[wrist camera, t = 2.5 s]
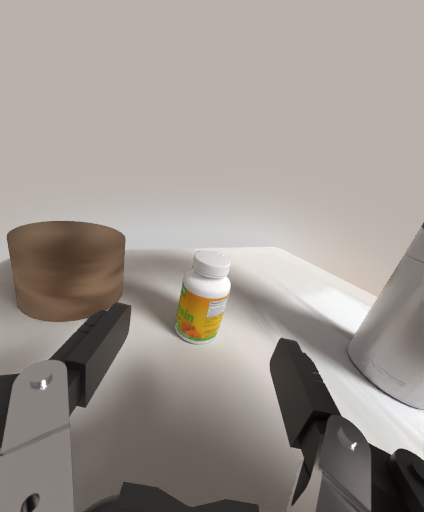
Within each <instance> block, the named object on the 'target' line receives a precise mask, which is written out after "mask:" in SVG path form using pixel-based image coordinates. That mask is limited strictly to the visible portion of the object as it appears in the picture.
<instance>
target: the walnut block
mask: <svg viewBox="0 0 424 512" xmlns="http://www.w3.org/2000/svg"><path fill="white" fill-rule="evenodd" d="M7 241H8V248H9V253H10V260H11V266H12V272H13V278H14V284H15V290H16V296H17V302H18V307H19V309H20V310H21V311H22V312H23V313H24V314H26V315H27V316H29V317H32V318H34V319H38V320H42V321H51V322H65V321H74V320H80V319H84V318H88V317H90V316H91V315H93V314H95V313H97V312H99V311H101V310H104V311H106V310H108V309H109V308H111V306H112V305H113V304H114V303H115V302H118V300H119V299H120V297H121V295H122V287H123V270H124V254H125V236H124V235H123V234H122V233H121V232H119V231H117V230H115V229H113V228H110V227H107V226H103V225H98V224H93V223H86V222H75V221H74V222H73V221H50V222H39V223H32V224H27V225H23V226H20V227H17V228H15V229H13V230H11V231H10V232H9V233H8V234H7Z"/></svg>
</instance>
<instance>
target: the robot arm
mask: <svg viewBox="0 0 424 512" xmlns="http://www.w3.org/2000/svg"><path fill="white" fill-rule="evenodd" d="M421 227H422V228H423V229H422V228H421V229H420V230H419V231H418V233H417V235H416V236H415V238H414V240H413V241H412V243H411V244H410V246H409V248H408V249H407V251H406V253H405V254H404V256H403V258H402V259H401V261H400V263H399V264H398V266H397V267H396V269H395V271H394V272H393V274H392V276H391V277H390V279H389V281H388V282H387V284H386V285H385V287H384V288H383V290H382V292H381V293H380V295H379V297H378V298H377V300H376V301H375V303H374V305H373V306H372V308H371V309H370V311H369V313H368V314H367V316H366V318H365V319H364V321H363V322H362V324H361V325H360V327H359V329H358V330H357V332H356V334H355V335H354V337H353V338H352V340H351V342H350V343H349V345H348V354H349V356H350V358H351V360H352V361H353V363H354V364H355V365H356V367H357V368H358V369H359V370H360V371H361V372H362V373H363V374H364V375H365V376H366V377H367V378H368V379H369V380H370V381H371V382H373V383H374V384H375V385H376V386H378V387H379V388H380V389H382V390H383V391H385V392H386V393H388V394H389V395H391V396H392V397H394V398H396V399H398V400H400V401H401V402H403V403H405V404H408V405H410V406H413V407H415V408H419V409H423V410H424V223H423V225H422V226H421ZM130 316H131V305H127V304H123V303H118V302H115V303H114V304H113V305H112V306H111V308H110V309H109V310H108V311H104V310H101V311H99V312H97V313H95V314H93V315H91V316H90V317H89V318H88V319H87V320H86V322H85V323H84V324H83V325H82V326H81V327H80V328H79V329H78V330H77V332H75V333H74V334H73V335H72V336H71V337H70V338H69V339H68V340H67V341H66V342H65V343H64V344H63V345H62V346H61V348H60V349H59V350H58V351H57V352H56V353H55V354H54V355H53V356H52V357H51V358H50V359H49V360H46V361H42V362H39V363H36V364H34V365H32V366H30V367H28V368H27V369H25V370H24V371H23V372H21V373H20V374H12V375H2V376H0V448H1V452H0V512H74V500H73V480H72V459H71V439H70V423H69V417H70V415H71V413H72V412H73V410H74V409H75V407H76V406H80V407H85V408H86V406H87V404H88V402H89V401H90V399H91V397H92V396H93V394H94V392H95V391H96V389H97V387H98V386H99V384H100V382H101V381H102V379H103V377H104V376H105V374H106V372H107V370H108V369H109V367H110V365H111V364H112V362H113V360H114V359H115V357H116V355H117V354H118V352H119V350H120V349H121V347H122V345H123V344H124V342H125V340H126V338H127V335H128V332H129V326H130ZM270 373H271V376H272V380H273V384H274V387H275V391H276V395H277V399H278V402H279V406H280V410H281V414H282V417H283V421H284V425H285V428H286V432H287V436H288V440H289V443H290V447H293V448H298V449H301V450H302V453H303V457H302V459H301V461H300V464H299V468H298V471H297V475H296V478H295V481H294V485H293V488H292V492H291V495H290V498H289V502H288V505H287V509H286V511H285V512H424V461H423V460H422V459H421V458H420V457H418V456H417V455H416V454H414V453H412V452H410V451H408V450H406V449H397V450H396V451H395V452H394V453H393V454H392V455H390V454H388V453H386V452H385V451H383V450H381V449H379V448H377V447H375V446H373V445H371V444H369V443H368V442H367V440H366V438H365V437H364V435H363V434H362V433H361V432H360V430H359V429H358V428H357V427H356V426H355V425H354V424H353V423H351V422H350V421H349V420H347V419H345V418H343V417H342V416H341V414H340V412H339V410H338V408H337V406H336V405H335V403H334V401H333V399H332V397H331V395H330V393H329V391H328V389H327V387H326V385H325V383H323V380H322V378H321V376H320V374H319V372H318V370H317V368H316V366H315V364H314V362H313V361H312V360H311V359H310V358H309V357H308V356H307V355H306V353H302V351H301V349H300V347H299V345H298V343H297V341H294V340H290V339H285V338H280V340H279V341H278V344H277V346H276V348H275V350H274V353H273V355H272V357H271V360H270ZM83 512H259V507H258V505H256V504H250V503H244V502H239V501H233V500H227V499H225V500H221V501H217V502H213V503H209V504H205V505H200V506H196V507H189V506H187V505H185V504H184V503H182V502H180V501H179V500H177V499H175V498H174V497H172V496H170V495H169V494H167V493H165V492H164V491H162V490H161V489H159V488H157V487H151V486H145V485H139V484H133V483H128V482H123V485H122V488H121V491H120V494H118V495H114V496H111V497H108V498H105V499H103V500H101V501H99V502H97V503H95V504H93V505H92V506H90V507H89V508H87V509H86V510H85V511H83Z"/></svg>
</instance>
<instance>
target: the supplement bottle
mask: <svg viewBox="0 0 424 512" xmlns="http://www.w3.org/2000/svg"><path fill="white" fill-rule="evenodd" d="M230 265H231V261H230V259H229V258H227V257H226V256H224V255H222V254H220V253H217V252H213V251H199V252H197V253H196V254H195V256H194V260H193V268H192V269H190V270H188V271H187V272H186V274H185V275H184V279H183V284H182V290H181V295H180V300H179V305H178V310H177V315H176V320H175V329H176V332H177V333H178V335H179V336H180V337H181V338H182V339H184V340H185V341H187V342H190V343H193V344H205V343H208V342H210V341H212V340H213V339H214V338H215V337H216V335H217V333H218V330H219V326H220V323H221V319H222V316H223V313H224V309H225V306H226V302H227V299H228V296H229V293H230V288H231V283H230V280H229V279H228V277H227V275H228V273H229V269H230Z"/></svg>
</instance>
